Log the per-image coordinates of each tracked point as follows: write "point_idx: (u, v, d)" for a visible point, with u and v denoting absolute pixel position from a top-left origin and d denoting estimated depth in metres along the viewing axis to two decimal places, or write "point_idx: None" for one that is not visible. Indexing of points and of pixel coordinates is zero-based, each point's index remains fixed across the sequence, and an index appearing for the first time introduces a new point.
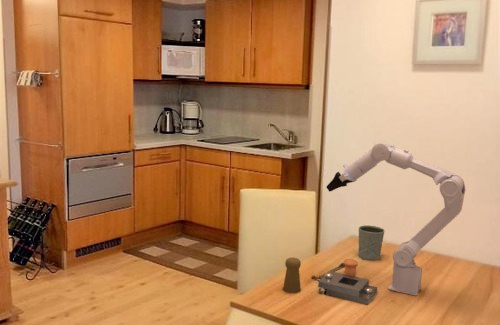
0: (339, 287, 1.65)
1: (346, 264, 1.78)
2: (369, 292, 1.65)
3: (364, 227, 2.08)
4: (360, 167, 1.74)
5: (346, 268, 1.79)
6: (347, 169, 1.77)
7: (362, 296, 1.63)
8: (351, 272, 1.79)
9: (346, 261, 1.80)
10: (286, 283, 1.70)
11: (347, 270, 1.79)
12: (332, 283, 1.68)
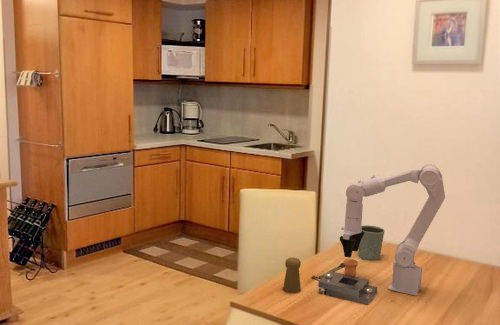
0: (339, 287, 1.65)
1: (346, 264, 1.78)
2: (369, 292, 1.65)
3: (364, 227, 2.08)
4: (353, 217, 1.75)
5: (346, 268, 1.79)
6: (346, 228, 1.77)
7: (362, 296, 1.63)
8: (351, 272, 1.79)
9: (346, 261, 1.80)
10: (286, 283, 1.70)
11: (347, 270, 1.79)
12: (332, 283, 1.68)
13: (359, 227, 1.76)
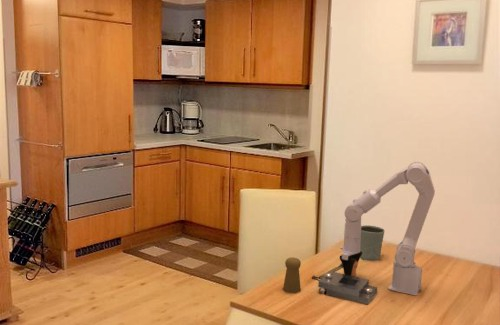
0: (339, 287, 1.65)
1: None
2: (369, 292, 1.65)
3: (364, 227, 2.08)
4: (352, 237, 1.76)
5: None
6: (344, 248, 1.78)
7: (362, 296, 1.63)
8: None
9: None
10: (286, 283, 1.70)
11: None
12: (332, 283, 1.68)
13: (358, 247, 1.77)
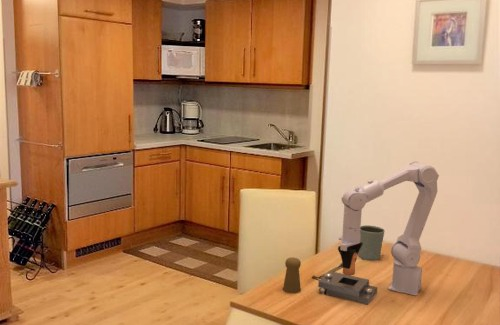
0: (339, 287, 1.65)
1: None
2: (369, 292, 1.65)
3: (364, 227, 2.08)
4: (356, 227, 1.64)
5: None
6: (343, 238, 1.67)
7: (362, 296, 1.63)
8: None
9: None
10: (286, 283, 1.70)
11: None
12: (332, 283, 1.68)
13: (357, 237, 1.65)
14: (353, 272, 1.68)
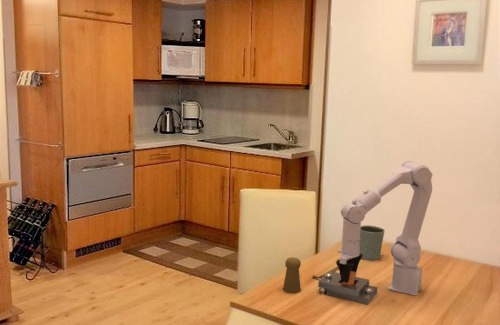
0: (339, 287, 1.65)
1: None
2: (369, 292, 1.65)
3: (364, 227, 2.08)
4: (355, 240, 1.65)
5: None
6: (343, 251, 1.67)
7: (362, 296, 1.63)
8: (348, 284, 1.68)
9: None
10: (286, 283, 1.70)
11: (344, 282, 1.68)
12: (332, 283, 1.68)
13: (357, 250, 1.66)
14: None
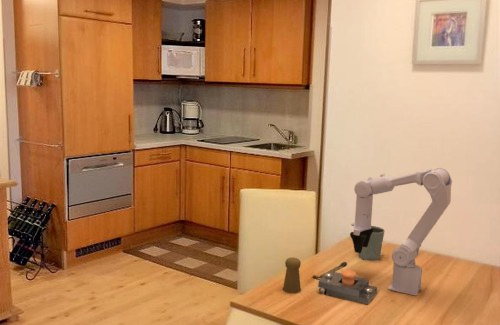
0: (339, 287, 1.65)
1: (343, 276, 1.68)
2: (369, 292, 1.65)
3: None
4: (361, 213, 1.78)
5: (343, 280, 1.69)
6: (356, 224, 1.80)
7: (362, 296, 1.63)
8: (348, 284, 1.68)
9: (344, 272, 1.69)
10: (286, 283, 1.70)
11: (344, 282, 1.68)
12: (332, 283, 1.68)
13: (369, 223, 1.79)
14: None
